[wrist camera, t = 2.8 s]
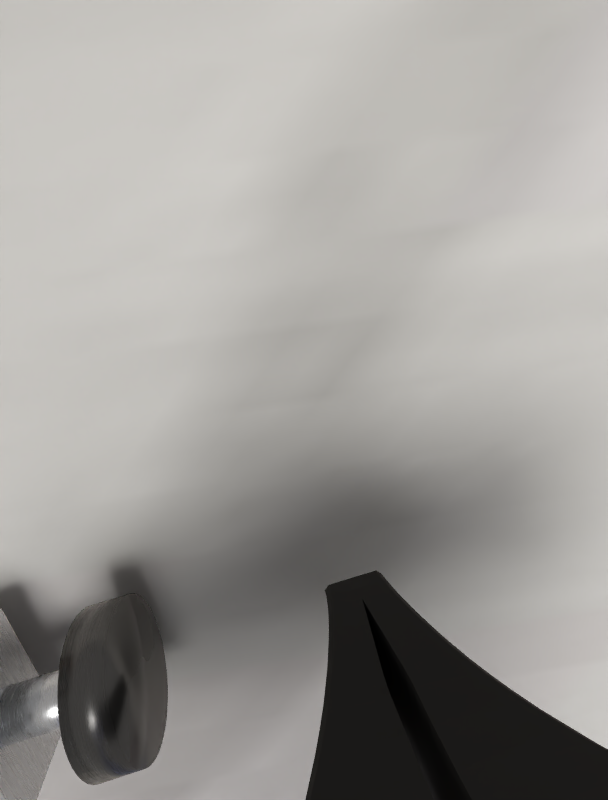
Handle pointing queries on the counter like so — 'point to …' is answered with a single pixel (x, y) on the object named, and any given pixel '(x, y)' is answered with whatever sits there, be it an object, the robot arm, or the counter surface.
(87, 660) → the door stop
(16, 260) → the counter surface
